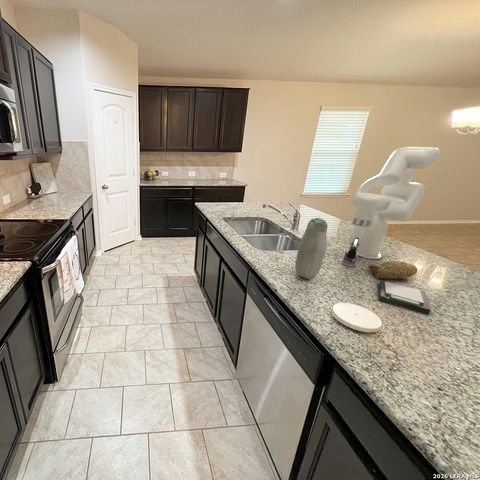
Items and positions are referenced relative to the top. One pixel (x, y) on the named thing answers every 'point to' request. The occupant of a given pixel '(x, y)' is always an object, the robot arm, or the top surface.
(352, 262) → the pill bottle
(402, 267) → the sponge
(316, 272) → the gray vase
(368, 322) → the plastic lid
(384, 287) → the scale
